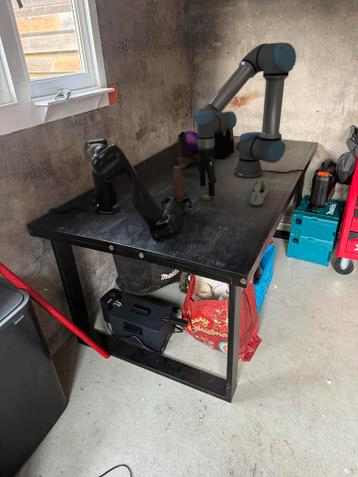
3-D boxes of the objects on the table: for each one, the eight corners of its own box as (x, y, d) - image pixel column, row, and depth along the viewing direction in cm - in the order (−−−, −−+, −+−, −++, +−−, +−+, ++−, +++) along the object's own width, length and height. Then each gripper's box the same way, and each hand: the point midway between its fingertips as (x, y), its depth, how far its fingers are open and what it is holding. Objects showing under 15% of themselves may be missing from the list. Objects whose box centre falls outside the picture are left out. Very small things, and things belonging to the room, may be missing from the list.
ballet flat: (269, 188, 169) (270, 173, 165) (265, 208, 149) (266, 191, 145) (252, 187, 171) (253, 172, 167) (246, 206, 151) (247, 190, 147)
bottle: (174, 214, 149) (171, 168, 138) (175, 209, 153) (172, 165, 142) (184, 214, 149) (182, 168, 138) (185, 209, 153) (182, 165, 142)
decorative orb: (204, 151, 235) (204, 129, 228) (194, 156, 225) (193, 134, 217) (186, 149, 243) (186, 128, 235) (175, 154, 232) (174, 132, 224)
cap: (210, 201, 159) (210, 198, 159) (201, 200, 161) (201, 197, 160) (211, 197, 163) (211, 194, 162) (203, 197, 164) (203, 194, 164)
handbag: (222, 159, 215) (223, 120, 203) (210, 158, 220) (210, 119, 207) (235, 151, 230) (236, 114, 218) (223, 150, 234) (224, 113, 222)
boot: (196, 157, 223) (195, 127, 213) (189, 169, 203) (188, 135, 192) (183, 157, 225) (182, 127, 215) (176, 168, 204) (174, 136, 194)
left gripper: (190, 204, 132) (195, 188, 147) (155, 203, 135) (164, 187, 149) (190, 220, 136) (195, 203, 150) (157, 219, 138) (165, 203, 153)
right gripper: (191, 141, 159) (192, 183, 170) (206, 155, 138) (207, 201, 149) (205, 140, 160) (206, 181, 171) (223, 153, 139) (223, 199, 150)
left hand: (179, 195), depth 150 cm, fingers closed on bottle, 4 cm apart
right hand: (207, 191), depth 160 cm, fingers open, 13 cm apart
